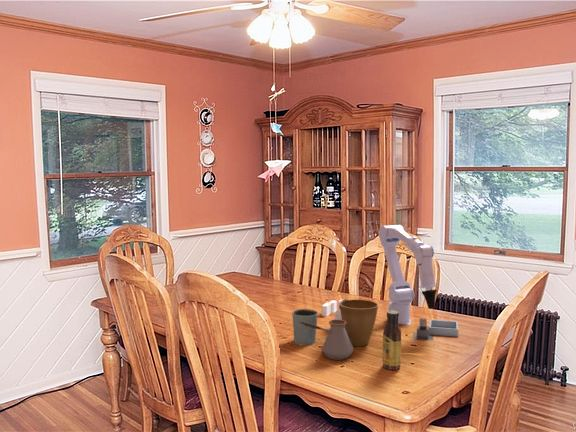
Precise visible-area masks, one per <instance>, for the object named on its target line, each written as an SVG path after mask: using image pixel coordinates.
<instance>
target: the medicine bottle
mask: <svg viewBox="0 0 576 432" xmlns="http://www.w3.org/2000/svg"><path fill="white" fill-rule="evenodd" d="M346 300H348V299H347V298H345V299H343V298H342V299H339V300H337V311H336V312H334V320H342V317H341V311H340V302H342V301H346Z"/></svg>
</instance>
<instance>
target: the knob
mask: <svg viewBox="0 0 576 432" xmlns="http://www.w3.org/2000/svg"><path fill="white" fill-rule="evenodd" d="M427 322H428V321H427V319H426V318H423V317H421V318H419V323H418V324H419V325H418V326H416V333H417V338H427V339H429V326H428V325H427V324H428V323H427Z"/></svg>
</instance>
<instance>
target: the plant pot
mask: <svg viewBox="0 0 576 432" xmlns="http://www.w3.org/2000/svg"><path fill="white" fill-rule="evenodd" d="M378 308H379V304H378V303H377V302H375V301H373V300H372V301H371V300H368V299H367V300H366V299H347V300H346V301H342V302H340V311H341V317H342V320H344V321H346V324H345V330H346V332H347V335H348V337H349V339H350V342H351V344H352V346H353V347H365V346H367V345H368V344H369V342H370V338H371V336H372V333H373V331H374V327H375V324H376V319H377V315H378V314H377V313H378Z"/></svg>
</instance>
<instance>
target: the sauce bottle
mask: <svg viewBox="0 0 576 432" xmlns="http://www.w3.org/2000/svg"><path fill="white" fill-rule="evenodd" d="M398 317H399V312H398V311H393V310H390V311H388V310H387V311H386V325H385V327H384V331H383V335H382V366H383V368H385V369H386V370H391V371H392V370H393V371H394V370H395V371H396V370H400V368H401V363H402V330H401V327H400V326H399V324H398Z"/></svg>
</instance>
